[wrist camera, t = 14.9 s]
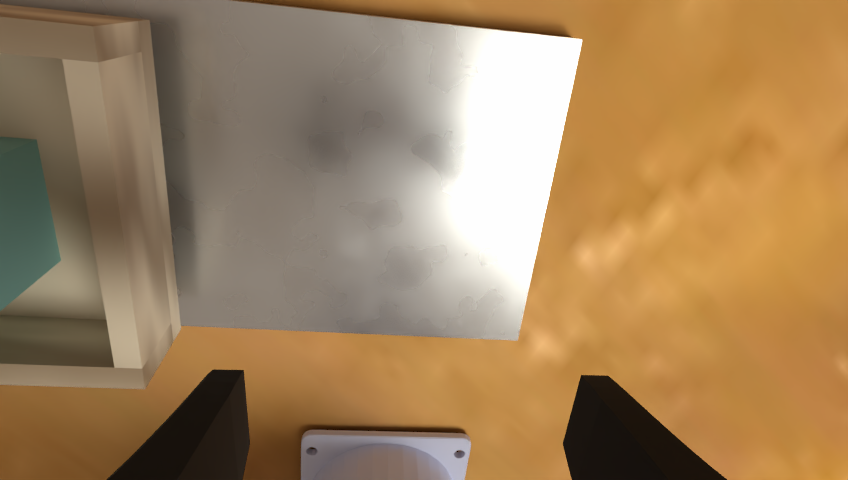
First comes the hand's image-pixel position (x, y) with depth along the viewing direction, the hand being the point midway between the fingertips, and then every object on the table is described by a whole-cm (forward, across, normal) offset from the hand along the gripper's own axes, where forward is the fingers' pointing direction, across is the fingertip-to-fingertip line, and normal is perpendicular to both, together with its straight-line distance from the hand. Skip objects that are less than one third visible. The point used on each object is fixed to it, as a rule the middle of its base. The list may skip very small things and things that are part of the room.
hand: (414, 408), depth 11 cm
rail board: (+10, +8, -1) cm, 13 cm away
